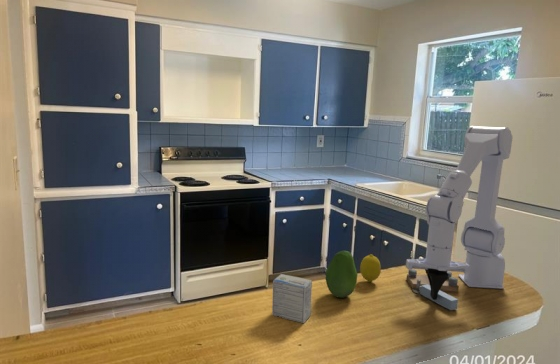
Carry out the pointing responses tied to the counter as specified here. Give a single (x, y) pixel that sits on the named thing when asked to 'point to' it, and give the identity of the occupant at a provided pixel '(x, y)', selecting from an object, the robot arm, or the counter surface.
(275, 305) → the medicine box
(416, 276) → the board
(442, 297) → the hinged leg
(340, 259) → the avocado
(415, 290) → the pivot pin
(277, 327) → the counter surface
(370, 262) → the lemon
